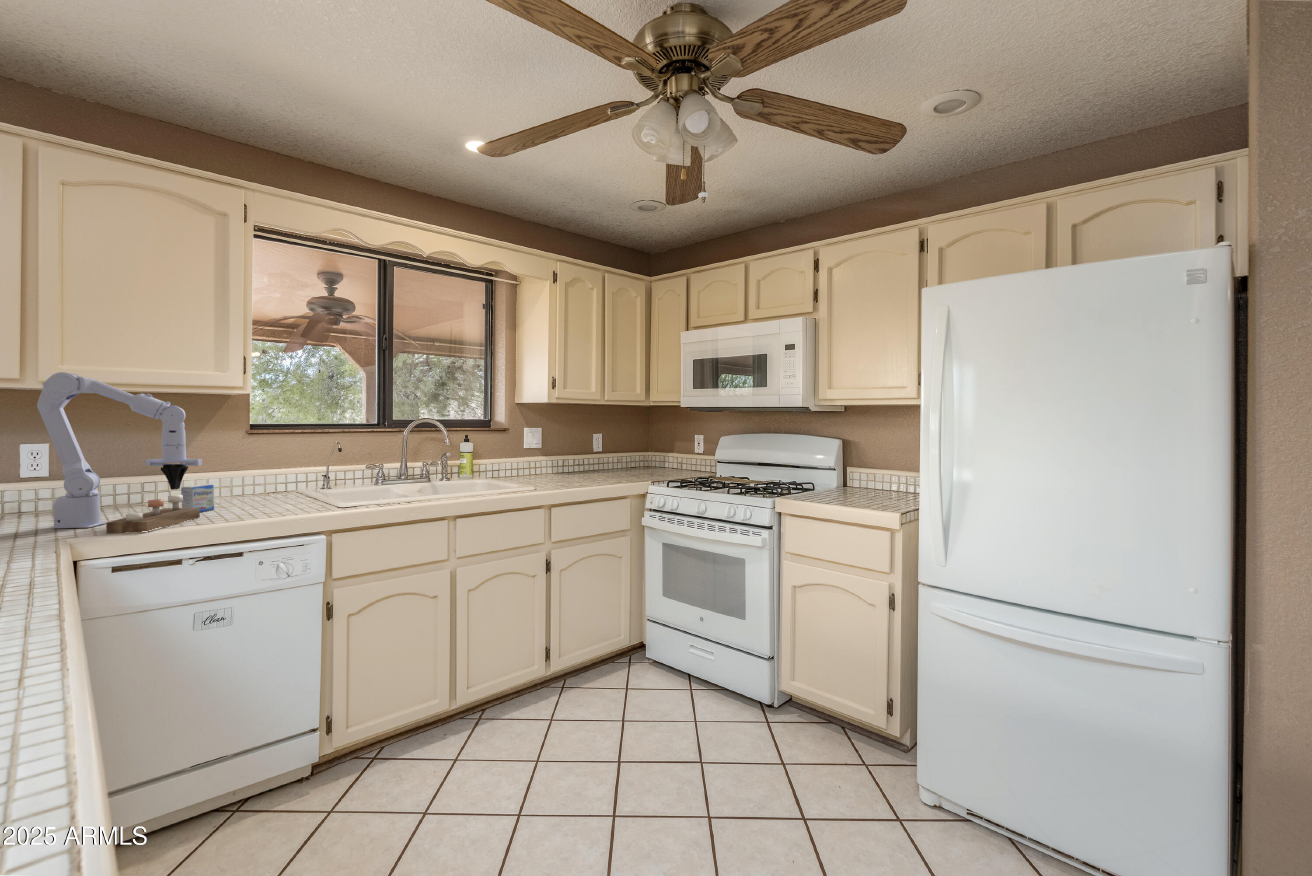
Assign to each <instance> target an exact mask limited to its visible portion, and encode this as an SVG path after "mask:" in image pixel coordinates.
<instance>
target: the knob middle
mask: <svg viewBox="0 0 1312 876" xmlns="http://www.w3.org/2000/svg"><path fill="white" fill-rule="evenodd" d="M164 506H165V503H164V499H163V498H154V499H149V500H147V508H152V509H151V511H153V515H160V509H161V508H160V507H164Z"/></svg>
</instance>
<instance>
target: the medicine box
mask: <svg viewBox="0 0 1312 876" xmlns="http://www.w3.org/2000/svg"><path fill="white" fill-rule="evenodd" d="M214 487H215V486H214V484H212V483H211V484H210V483H209V484H207V483H205V484H204V483H203V484H198V485H197V484H196V485H188V486H182V487H181V486H180V488H181V490H180V493H181V494H180V495H183V501H182V502H181V508H199V510H200V513H205V512H209V510H210V511H214V510H215V489H214Z"/></svg>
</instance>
